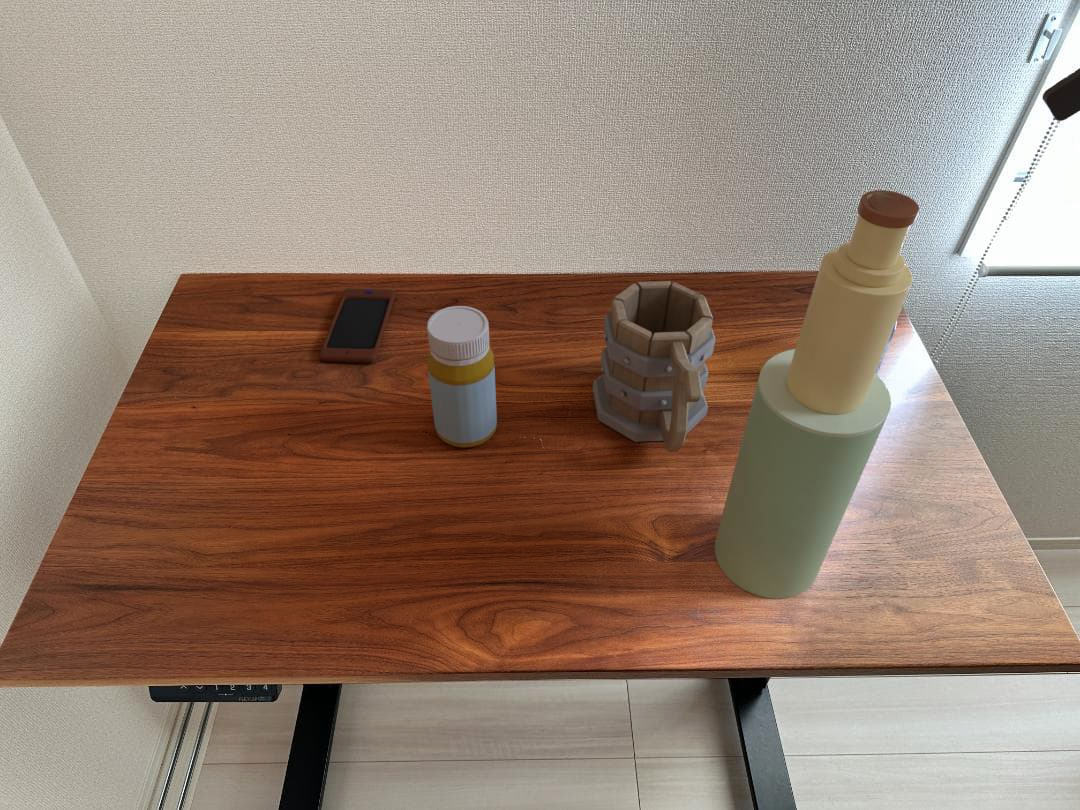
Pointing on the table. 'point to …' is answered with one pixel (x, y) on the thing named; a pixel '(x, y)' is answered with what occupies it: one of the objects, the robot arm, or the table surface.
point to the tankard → (655, 363)
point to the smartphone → (358, 326)
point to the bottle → (461, 376)
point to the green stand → (792, 484)
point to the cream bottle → (854, 308)
